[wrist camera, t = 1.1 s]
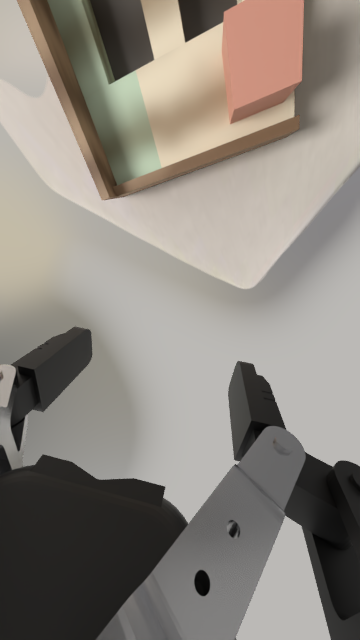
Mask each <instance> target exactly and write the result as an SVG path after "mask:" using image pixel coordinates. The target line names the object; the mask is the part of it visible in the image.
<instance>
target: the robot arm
mask: <svg viewBox="0 0 360 640" xmlns="http://www.w3.org/2000/svg"><path fill="white" fill-rule="evenodd" d="M91 357H92V341H91V331H90V330H89V329H84V328H79V327H73V328H72V329H70V330H69V331H67V332H66V333H64V334H60V335H58V336H55V337H52V338H51V339H49V340H48V341H46V342H45V343H44V344H42V345H40V346H39V347H38V348H37V349H34V350H33V351H31V352H30V353H28V354H26V355H25V356H23V357H22V358H20V359H19V360H17V361H16V362H14V363H13V364H11V365H7V364H0V640H236V635H237V633H238V630H239V628H240V625H241V623H242V620H243V618H244V616H245V613H246V611H247V608H248V606H249V603H250V601H251V599H252V596H253V594H254V591H255V589H256V586H257V584H258V581H259V579H260V577H261V574H262V572H263V569H264V567H265V564H266V562H267V560H268V557H269V555H270V552H271V550H272V547H273V545H274V543H275V540H276V538H277V535H278V533H279V530H280V528H281V525H282V523H283V520H284V517H285V516H287V517H289V518H290V519H292V520H293V521H295V522H296V523H298V524H299V525H301V526H302V529H303V533H304V537H305V540H306V544H307V548H308V552H309V556H310V560H311V564H312V567H313V571H314V575H315V579H316V583H317V587H318V591H319V595H320V598H321V602H322V606H323V610H324V614H325V618H326V622H327V626H328V629H329V633H330V637H331V640H360V466H358V465H356V464H354V463H351V462H349V461H338V462H337V463H336V464H335V466H334V467H332V466H330V465H328V464H326V463H324V462H322V461H320V460H318V459H316V458H314V457H313V456H311V455H309V454H307V453H306V452H305V451H304V448H303V446H302V445H301V443H300V442H299V441H298V440H297V438H296V437H295V436H294V435H292V434H291V433H290V432H288V431H287V430H286V428H285V425H284V422H283V420H282V417H281V414H280V411H279V409H278V406H277V403H276V402H275V398H274V395H273V394H272V390H271V387H270V385H269V383H268V382H267V381H266V380H265V379H264V377H263V376H260V375H257V374H256V371H255V367H254V365H253V364H251V363H246V362H240V361H238V362H237V364H236V366H235V369H234V372H233V375H232V379H231V382H230V385H229V391H228V397H229V408H230V419H231V429H232V440H233V451H234V460H236V461H240V462H239V464H238V465H236V464H235V465H234V466H233V467H232V468H231V469H230V471H229V472H228V473H227V475H226V476H225V477H224V478H223V480H222V481H221V482H220V483H219V485H218V486H217V487H216V489H215V490H214V491H213V493H212V494H211V495H210V497H209V498H208V499H207V501H206V502H205V503H204V504H203V506H202V507H201V508H200V510H199V511H198V512H197V513H196V515H195V516H194V517H193V519H192V520H191V521H190V523H189V524H188V522H187V521H186V520H185V518H184V517H183V515H182V514H181V513H180V512H179V510H178V509H177V508H176V507H175V506H174V505H172V504H171V503H170V502H169V501H167V500H166V499H164V498H163V495H164V490H165V487H164V486H161V485H157V484H153V483H149V482H145V481H142V480H137V479H134V478H133V479H111V480H98V479H96V478H94V477H93V476H91V475H90V474H88V473H87V472H86V471H84V470H83V469H81V468H80V467H78V466H77V465H75V464H74V463H73V462H70V461H66V460H62V459H58V458H54V457H51V456H47V455H42V456H41V458H40V459H39V460H38V462H37V463H36V464H35V465H32V466H26V467H23V453H24V446H25V439H26V431H27V424H28V415H27V414H28V413H29V412H30V411H31V410H32V409H33V410H37V411H42V412H43V411H45V409H46V408H47V407H48V406H49V405H50V404H51V403H52V402H53V401H54V400H55V399H56V398H57V397H58V396H59V395H60V394H61V393H62V391H63V390H64V389H65V388H66V387H67V386H68V385H69V384H70V383H71V382H72V381H73V380H74V379H75V378H76V377H77V376H78V375H79V373H80V372H81V371H82V370H83V369H84V368H85V367H86V366H87V365H88V364H89V362H90V360H91Z"/></svg>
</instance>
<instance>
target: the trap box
mask: <svg viewBox="0 0 360 640" xmlns="http://www.w3.org/2000/svg"><path fill="white" fill-rule="evenodd" d="M243 1H244V0H17V2H18V4H19V7H20V9H21V11H22V14H23V16H24V18H25V21H26V23H27V25H28V28H29V30H30V32H31V35H32V37H33V39H34V42H35V44H36V46H37V49H38V51H39V53H40V56H41V58H42V61H43V63H44V65H45V68H46V70H47V72H48V75H49V77H50V79H51V82H52V84H53V86H54V89H55V91H56V93H57V96H58V98H59V100H60V103H61V105H62V107H63V110H64V112H65V114H66V117H67V119H68V121H69V124H70V126H71V129H72V131H73V133H74V136H75V138H76V140H77V143H78V145H79V147H80V150H81V152H82V154H83V157H84V159H85V161H86V164H87V166H88V168H89V171H90V173H91V175H92V178H93V180H94V182H95V185H96V187H97V189H98V192H99V194H100V197H101V199H102V200H108V199H114V198H120V197H125V196H127V195H130V194H133V193H135V192H138V191H141V190H144V189H146V188H149V187H152V186H155V185H157V184H160V183H163V182H165V181H168V180H171V179H174V178H176V177H179V176H182V175H185V174H187V173H190V172H193V171H196V170H198V169H201V168H204V167H206V166H209V165H212V164H215V163H217V162H220V161H223V160H226V159H228V158H231V157H234V156H237V155H239V154H242V153H245V152H247V151H250V150H253V149H256V148H258V147H261V146H264V145H267V144H269V143H272V142H275V141H277V140H280V139H283V138H286V137H287V136H289V135H290V134H292V133H294V132H295V131H297V130H298V129H299V119H300V115H298V116H295V117H294V100H295V89H294V90H293V92H292V93H291V94H290V95H289V96H288V97H287V99H286V100H285V101H284V102H283V103H281V104H278V105H276V106H273V107H271V108H269V109H266V110H264V111H261V112H259V113H256V114H254V115H252V116H249V117H247V118H244V119H242V120H239V121H237V122H234V123H232V124H230V121H229V112H228V103H227V94H226V86H225V77H224V68H223V59H222V36H223V20H224V12H225V11H227V10H228V9H230V8H232V7H234V6H235V5H237V4H239V3H241V2H243Z"/></svg>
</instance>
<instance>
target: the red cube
mask: <svg viewBox="0 0 360 640" xmlns="http://www.w3.org/2000/svg"><path fill="white" fill-rule="evenodd" d="M303 17H304V0H244V1H243V2H241V3H239V4H237V5H235V6H234V7H232V8H230V9H228V10H227V11H225V12H224V20H223V36H222V59H223V68H224V77H225V86H226V94H227V103H228V112H229V121H230V124H232V123H234V122H237V121H239V120H242V119H244V118H247V117H249V116H252V115H254V114H256V113H259V112H261V111H264V110H266V109H269V108H271V107H273V106H276V105H278V104H281V103H283V102H284V101H285V100H286V99H287V97H288V96H289V95H290V94H291V93H292V92H293V90H294V89H295V88H296V87H297V86H298V85H299V84H300V82H301V81H302V55H303Z"/></svg>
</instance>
